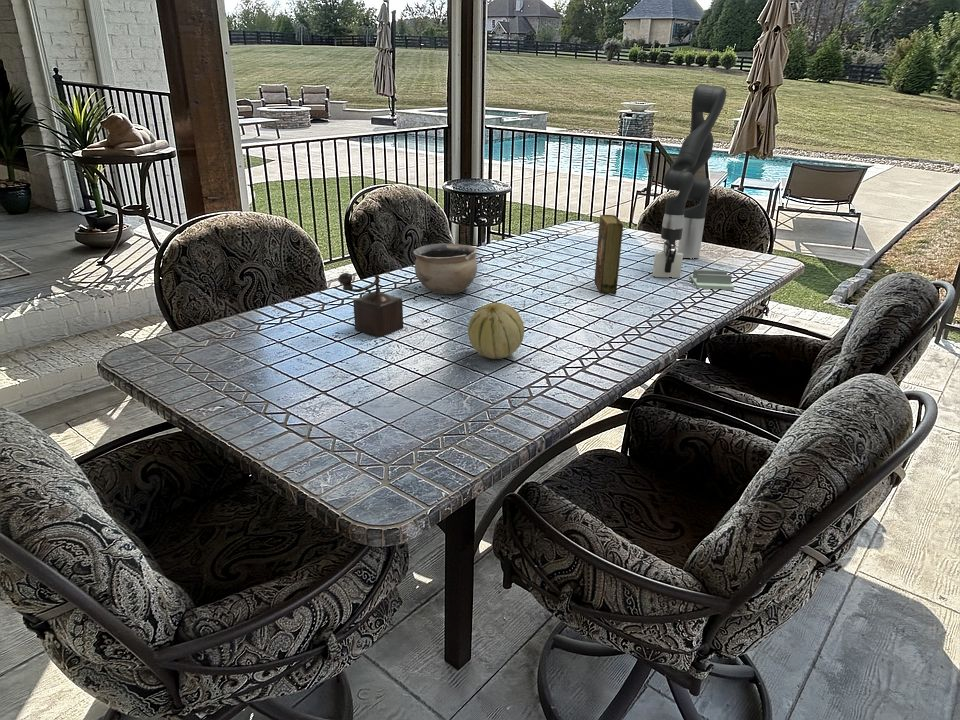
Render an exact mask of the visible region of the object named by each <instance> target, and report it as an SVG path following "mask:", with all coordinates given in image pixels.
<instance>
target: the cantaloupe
mask: <svg viewBox="0 0 960 720" xmlns="http://www.w3.org/2000/svg"><path fill="white" fill-rule="evenodd" d="M524 336H525V325H524V321H523V319H522V317H521V316H520V313H519V312H518V311H517V310H516V309H515V308H514V307H512V306H511V305H509V304H507V303H504V302H503V303H502V302H491V303H486V304H484V305H482V306H480V307H479V308H478V309H476V311H474V313H473V314H472V316H471V318H470V319H469V322H468V325H467V337H468V340H469V342H470V344H471V347H472V348H473V349H474V351H475V352H476V353H478V354H479V356H482V357H485V358H487V359H491V360H492V359H493V360H496V359H504V358H506V357H509V356H511V355H513V354H514V353H515V352H516V351H517V350H518V349H519V348H520V347H521V345H522V343H523V340H524Z"/></svg>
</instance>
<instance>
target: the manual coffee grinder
mask: <svg viewBox="0 0 960 720" xmlns="http://www.w3.org/2000/svg"><path fill="white" fill-rule="evenodd" d="M374 278H375V279H374V281H373V282H371V284H369V285H367V286H364V287H362V288H355V289H354V288H353V285H352V281H353V276H352V274H351V273H349V272H342V273H341V274H339V276H338V279H337V280H338V283H340V285H342V289H343V290H344V291H349V292H352V293H353V292H354V293H361V292H364V291H367V293H366V294H363V295H362V296H360V297H358V298H354V299H353V300H352V302H353V315H354V316H353V317H354V318H353V319H354V330H355V331H356V332H359V333H362V334H364V335H367V336H371V337H376V338H383V337H385V336H388V335H391V334H394V333H396V332H398V331H400V330H403V329H404V310H403V309H404V305H403V298H401V297H398V296H395V295H390V294H387V293H384V292H382V291H380V284H379V283H381V280H380V275H379V274H375V275H374ZM374 287H375V291H371V288H374Z"/></svg>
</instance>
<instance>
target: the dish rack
mask: <svg viewBox="0 0 960 720" xmlns="http://www.w3.org/2000/svg"><path fill="white" fill-rule="evenodd" d="M732 277H733V276H732V275H731V274H728V270H719V269H718V270H717V269H716V270H715V269H693V274H689V277H688V279H689V278H690V279H691V281H692V282H693V283H694V285H695V286H696V287H695V286H694V285H693V286H694V287H695V289H696V288H702V289H701V290H708V289H722V290H721V291H732V290H735V286H734V285H733V284H732ZM690 279H689V280H690ZM691 281H690V282H691ZM692 282H691V283H692ZM693 283H692V284H693Z"/></svg>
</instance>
